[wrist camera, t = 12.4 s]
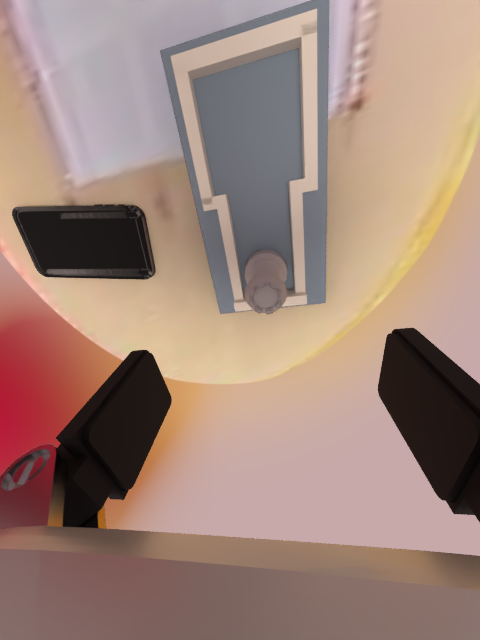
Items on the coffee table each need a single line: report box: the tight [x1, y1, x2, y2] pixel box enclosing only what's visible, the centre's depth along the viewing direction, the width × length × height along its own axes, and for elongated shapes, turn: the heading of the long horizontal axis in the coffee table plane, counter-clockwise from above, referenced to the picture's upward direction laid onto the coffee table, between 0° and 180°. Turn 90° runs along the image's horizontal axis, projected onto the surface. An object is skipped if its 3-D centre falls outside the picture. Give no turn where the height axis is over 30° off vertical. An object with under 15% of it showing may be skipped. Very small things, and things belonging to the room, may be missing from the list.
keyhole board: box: [160, 0, 329, 314], centre depth 20 cm, size 22×12×4 cm, turn 9°
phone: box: [12, 205, 155, 279], centre depth 25 cm, size 8×1×15 cm
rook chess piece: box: [244, 249, 288, 314], centre depth 20 cm, size 4×4×8 cm
